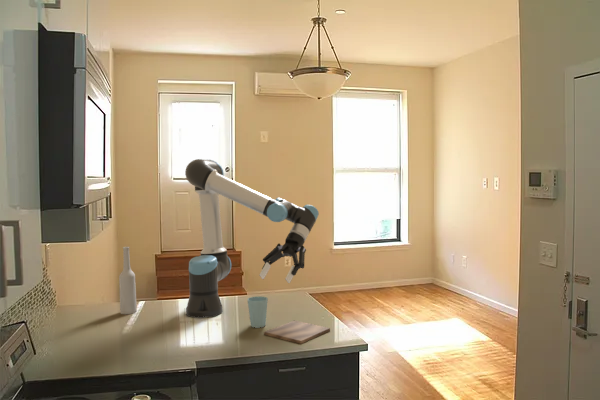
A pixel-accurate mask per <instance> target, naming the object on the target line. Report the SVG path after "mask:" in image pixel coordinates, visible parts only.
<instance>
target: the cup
mask: <svg viewBox="0 0 600 400" xmlns="http://www.w3.org/2000/svg"><path fill="white" fill-rule="evenodd" d="M268 300H269V298H268V297H266V296H262V295H261V296H259V295H257V296H251V297H248V298H247V306H248V313H249V315H248V316H249V320H250V321H249V322H250V327H252V328H254V327H255V328H256V329H260V327H261V328H264V327H266V322H267V313H268V312H267V310H268V302H269V301H268Z"/></svg>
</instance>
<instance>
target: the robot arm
mask: <svg viewBox="0 0 600 400" xmlns="http://www.w3.org/2000/svg"><path fill="white" fill-rule="evenodd" d="M185 167H186V168H185V178H186V180H187V181H188V183H189V184H191V186H194V192H195V193H196V194H198V200H199V211H200V221H201V233H202V244H203V245H202V246H203V249H202V250H201V251H200V255H199V256H194V257H192V258H191V259H190V260H189V261H188V277H189V278H188V279H189V280H188V281H189V283H188V284H189V297H188V301H187V305H186V308H185V315H186V316H188V317H190V318H201V319H202V318H211V317H216V316H219V315H221V314H222V313H223V308H224V307H223V304H222V302H221V298H220V296H219V285H218V284H219V282H220V281H222V280H224V279H225V278H227V277H228V275H229V273H230V272H231V270H232V261H231V258H230V256H228V250H227V248H226V247H224V243H223V231H222V230H223V229H222V219H221V218H222V217H221V206H220V196H222V197H224V198H226V199H229V200H231V201H233V202H235V203H237V204H240V205H241V206H243V207H246V208H247V209H250V210H252V211H255V212H256V213H259V214H261V215H263V216H265V217H267V218H268V219H269V220H270V221H271V222H273V223H281V222H282V221H285V220H286V221H289V222H291V223H292V224H293V225H292V227H291V229H290V230H289V233H288V234H287V236H286V237H285V243H284V244H281V243H277V244H276V246H275V248H273V249H272V250H271V251H270V252H269V253H268V254H266V256H265V257H263V258H262V261H263V263H264V265H263V266H262V268H261V271H260V273H259V277H260V278H261V279H262V280H264V279H265V278H266V276H267V274H268V272H269V271H270V269H271V268H272V266H271V265H272V264H274V263H275V262H276V261H278V260H280V259H281V258H284V257H292V261H293V265H291V267H290V269H289V270H288V273H287V275H286V276H285V278H284V279H285V281H286V282H287V283H288V284H291V281H292V280H293V278H294V276H296V274H297V273H298V271H299V270H300V269H304V268H305V258H306V256H305V254H306V251H307V249H306V248H305V246H304V244H305V242H306V240H307V238H308V236H309V234H310V233H311V231H312V229H313V228H314V226H315V224H316V221H317V220H318V217H319V210H318V209H317V207H315V206H314V205H312V204H305V205H304V206H303V207H301V206H299V205H297V204H295V203H293V202H291V201H288V200H286V199H284V198H281V197H276V198H274V199H273V198H272V197H270V196H268V195H265V194H262V193H261V192H258V191H256V190H254V189H252V188H250V187H248V186H246V185H244V184H242V183H239V182H237V181H235V180H233V179H230V178H228V177H226V176H224V174H225V173H224V169H223V167H222V165H221V164H220V163H218V162H217V161H215V160H212V159H202V158H201V159H200V158H199V159H194V160H192V161H190V162H189V163H188V164H187V165H186V166H185ZM219 195H220V196H219ZM297 254H298V255H297Z"/></svg>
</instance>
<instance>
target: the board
mask: <svg viewBox="0 0 600 400" xmlns="http://www.w3.org/2000/svg"><path fill="white" fill-rule="evenodd" d="M330 331H331V327H328V326H327V327H326V326H322V325H319V324H318V325H316V324H312V323H309V322H308V323H307V322H304V321H300V320H299V321H298V320H292V321H288V322H287V323H283V324H281V325H279V326H278V325H277V326H275V327H273V328H270V329H268V330H265V331H263V335H264V336H269V337H272V338H276V339H281V340H284V341H289V342H293V343H298V344H301V345H302V344H304V343H306V342H308V341H311V340H312V339H315V338H317V337H319V336H322V335H324V334H327V333H329V332H330Z"/></svg>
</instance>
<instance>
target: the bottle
mask: <svg viewBox="0 0 600 400" xmlns="http://www.w3.org/2000/svg"><path fill="white" fill-rule="evenodd" d="M122 250H123V252H122V253H123V255H122V256H123V258H122V259H123V263H122V265H123V268H122V269H123V270H122V271H121V273H120V274H119V276H118V278H119V279H118V280H119V285H118V286H119V311H120V312H119V313H120V314H121V315H132V314H133V315H134V314H136V313H137V309H138V308H137V289H136V288H137V287H136V285H137V284H136V274H135V272H134V271H133V270H132V268H131V259H130V257H131V256H130V246H122Z"/></svg>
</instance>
